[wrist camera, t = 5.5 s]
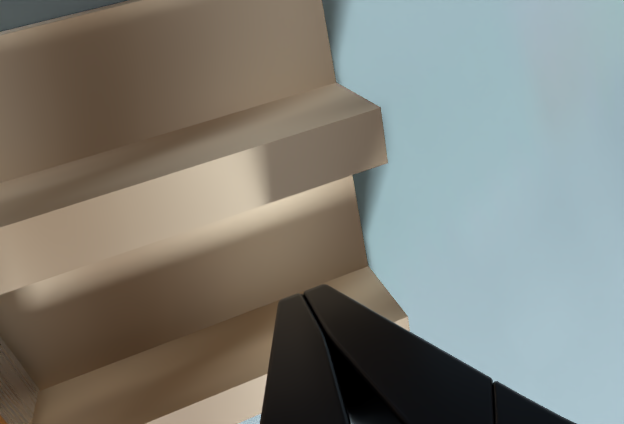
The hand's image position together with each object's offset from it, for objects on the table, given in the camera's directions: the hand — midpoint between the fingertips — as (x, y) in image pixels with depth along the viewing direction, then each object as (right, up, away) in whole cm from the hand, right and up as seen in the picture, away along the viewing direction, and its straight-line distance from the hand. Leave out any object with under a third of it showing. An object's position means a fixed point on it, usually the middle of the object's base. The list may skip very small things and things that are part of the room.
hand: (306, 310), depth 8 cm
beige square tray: (-4, +1, +3) cm, 5 cm away
